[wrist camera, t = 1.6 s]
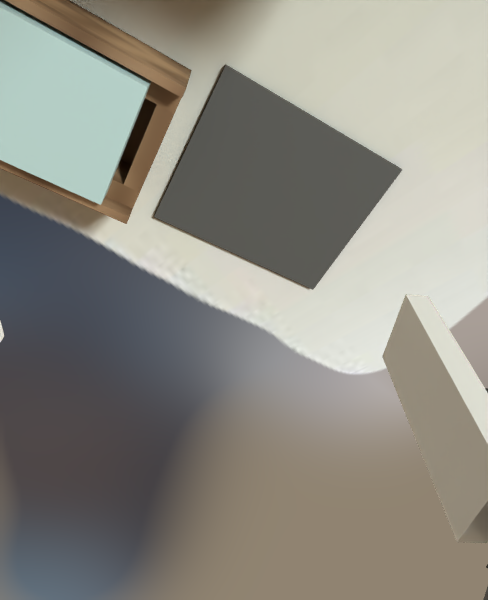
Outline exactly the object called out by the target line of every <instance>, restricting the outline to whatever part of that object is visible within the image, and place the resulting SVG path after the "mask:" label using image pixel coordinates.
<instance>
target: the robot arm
mask: <svg viewBox="0 0 488 600" xmlns="http://www.w3.org/2000/svg"><path fill="white" fill-rule="evenodd" d="M3 337H4V333H3V329H2V325H1V322H0V342H1V340H2V339H3ZM382 357H383V359H384V362H385V364H386V367H387V369H388V372H389V374H390V377H391V379H392V382H393V384H394V387H395V389H396V391H397V394H398V397H399V399H400V401H401V404H402V406H403V409H404V412H405V414H406V417H407V419H408V421H409V424H410V426H411V429H412V431H413V434H414V436H415V439H416V441H417V444H418V446H419V449H420V451H421V454H422V456H423V459H424V461H425V464H426V466H427V469H428V471H429V474H430V476H431V479H432V481H433V484H434V486H435V489H436V491H437V494H438V496H439V499H440V501H441V504H442V506H443V509H444V511H445V514H446V516H447V519H448V521H449V523H450V526H451V529H452V531H453V534H454V536H455V539H456V541H457V542H470V543H487V541H488V389H487V388H484V386H483V385H482V383H481V381H480V380H479V378H478V376H477V375H476V373H475V371H474V370H473V368H472V366H471V365H470V363H469V362H468V360H467V358H466V357H465V355H464V353H463V352H462V350H461V348H460V347H459V345H458V344H457V342H456V340H455V339H454V337H453V335H452V334H451V332H450V330H449V329H448V327H447V326H446V324H445V322H444V321H443V319H442V317H441V316H440V314H439V312H438V311H437V309H436V308H435V306H434V304H433V303H432V301H431V299H430V298H429V296H422V295H408V294H406V295H405V298H404V301H403V303H402V306H401V309H400V311H399V314H398V317H397V319H396V322H395V325H394V327H393V330H392V333H391V335H390V338H389V341H388V343H387V346H386V348H385V351H384V354H383V356H382ZM486 567H487V568H488V565H487V566H486ZM484 600H488V587H487V591H486V594H485V597H484Z"/></svg>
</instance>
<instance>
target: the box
mask: <svg viewBox="0 0 488 600" xmlns="http://www.w3.org/2000/svg"><path fill="white" fill-rule="evenodd" d="M5 1H7V2H9V3H11V4H12V5H14V6H16V7H18V8H20V9H22V10H23V11H25V12H27V13H29V14H31V15H32V16H34V17H36V18H38V19H40V20H41V21H43V22H45V23H47V24H49V25H51V26H52V27H54V28H56V29H58V30H60V31H61V32H63V33H65V34H67V35H69V36H71V37H72V38H74V39H76V40H78V41H80V42H81V43H83V44H85V45H87V46H89V47H90V48H92V49H94V50H96V51H98V52H100V53H101V54H103V55H105V56H107V57H109V58H110V59H112V60H114V61H116V62H118V63H120V64H121V65H123V66H125V67H127V68H129V69H130V70H132V71H134V72H136V73H138V74H139V75H141V76H143V77H145V78H147V79H149V80H150V81H152V82H151V84H150V87H149V89H148V92H147V94H146V97H145V99H144V102H143V104H142V107H141V109H140V112H139V114H138V117H137V119H136V122H135V124H134V127H133V129H132V132H131V134H130V137H129V139H128V142H127V144H126V147H125V149H124V152H123V154H122V157H121V159H120V162H119V164H118V167H117V169H116V172H115V174H114V177H113V179H112V182H111V184H110V187H109V189H108V192H107V194H106V196H105V198H104V200H103V202H102V204H101V205H100V204H97V203H95V202H93V201H91V200H89V199H86V198H84V197H82V196H80V195H77V194H75V193H73V192H71V191H68V190H66V189H64V188H62V187H60V186H57V185H55V184H53V183H51V182H48V181H46V180H44V179H42V178H39V177H37V176H35V175H33V174H31V173H28V172H26V171H24V170H22V169H19V168H17V167H15V166H13V165H10V164H8V163H6V162H4V161H2V160H0V168H1V169H3V170H5V171H8V172H10V173H12V174H14V175H17V176H19V177H21V178H24V179H26V180H28V181H30V182H33V183H35V184H37V185H39V186H42V187H44V188H46V189H48V190H51V191H53V192H55V193H57V194H60V195H62V196H64V197H66V198H69V199H71V200H73V201H75V202H78V203H80V204H82V205H84V206H87V207H89V208H91V209H94V210H96V211H98V212H100V213H103V214H105V215H107V216H109V217H112V218H114V219H116V220H118V221H121V222H123V223H125V224H127V221H128V219H129V217H130V214H131V211H132V209H133V206H134V204H135V202H136V200H137V197H138V195H139V193H140V190H141V188H142V186H143V184H144V181H145V179H146V177H147V175H148V172H149V170H150V168H151V165H152V163H153V161H154V159H155V156H156V154H157V152H158V150H159V147H160V145H161V143H162V140H163V138H164V136H165V134H166V131H167V129H168V127H169V125H170V122H171V120H172V118H173V115H174V113H175V111H176V109H177V106H178V104H179V102H180V100H181V98H182V96H183V94H184V92H185V90H186V87H187V84H188V80H189V77H190V73H191V70H190V69H188V68H186V67H185V66H183V65H181V64H179V63H178V62H176V61H174V60H172V59H171V58H169V57H167V56H165V55H164V54H162V53H160V52H159V51H157V50H155V49H153V48H152V47H150V46H148V45H146V44H145V43H143V42H141V41H139V40H138V39H136V38H134V37H132V36H131V35H129V34H127V33H125V32H124V31H122V30H120V29H119V28H117V27H115V26H113V25H112V24H110V23H108V22H106V21H105V20H103V19H101V18H99V17H98V16H96V15H94V14H92V13H91V12H89V11H87V10H85V9H84V8H82V7H80V6H79V5H77V4H75V3H73V2H72V1H70V0H5Z"/></svg>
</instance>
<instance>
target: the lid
mask: <svg viewBox="0 0 488 600" xmlns="http://www.w3.org/2000/svg"><path fill="white" fill-rule="evenodd" d="M151 82H152V81H150V80H149V79H147V78H145V77H143V76H141V75H139V74H138V73H136V72H134V71H132V70H130V69H129V68H127V67H125V66H123V65H121V64H120V63H118V62H116V61H114V60H112V59H110V58H109V57H107V56H105V55H103V54H101V53H100V52H98V51H96V50H94V49H92V48H90V47H89V46H87V45H85V44H83V43H81V42H80V41H78V40H76V39H74V38H72V37H71V36H69V35H67V34H65V33H63V32H61V31H60V30H58V29H56V28H54V27H52V26H51V25H49V24H47V23H45V22H43V21H41V20H40V19H38V18H36V17H34V16H32V15H31V14H29V13H27V12H25V11H23V10H22V9H20V8H18V7H16V6H14V5H12V4H11V3H9V2H7V1H5V0H0V160H2V161H4V162H6V163H8V164H10V165H13V166H15V167H17V168H19V169H22V170H24V171H26V172H28V173H31V174H33V175H35V176H37V177H39V178H42V179H44V180H46V181H48V182H51V183H53V184H55V185H57V186H60V187H62V188H64V189H66V190H68V191H71V192H73V193H75V194H77V195H80V196H82V197H84V198H86V199H89V200H91V201H93V202H95V203H97V204H100V205H101V204H102V202H103V200H104V198H105V196H106V194H107V192H108V189H109V187H110V184H111V182H112V179H113V177H114V174H115V172H116V169H117V167H118V164H119V162H120V159H121V157H122V154H123V152H124V149H125V147H126V144H127V142H128V139H129V137H130V134H131V132H132V129H133V127H134V124H135V122H136V119H137V117H138V114H139V112H140V109H141V107H142V104H143V102H144V99H145V97H146V94H147V92H148V89H149V87H150V84H151Z"/></svg>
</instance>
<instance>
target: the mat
mask: <svg viewBox="0 0 488 600" xmlns="http://www.w3.org/2000/svg"><path fill="white" fill-rule="evenodd" d="M401 171H402V169H401V168H399V167H398V166H396V165H394V164H392V163H391V162H389V161H387V160H386V159H384V158H382V157H381V156H379V155H377V154H376V153H374V152H372V151H371V150H369V149H367V148H366V147H364V146H362V145H360V144H359V143H357V142H355V141H354V140H352V139H350V138H349V137H347V136H345V135H344V134H342V133H340V132H339V131H337V130H335V129H334V128H332V127H330V126H328V125H327V124H325V123H323V122H322V121H320V120H318V119H317V118H315V117H313V116H312V115H310V114H308V113H307V112H305V111H303V110H302V109H300V108H298V107H296V106H295V105H293V104H291V103H290V102H288V101H286V100H285V99H283V98H281V97H280V96H278V95H276V94H275V93H273V92H271V91H270V90H268V89H266V88H264V87H263V86H261V85H259V84H258V83H256V82H254V81H253V80H251V79H249V78H248V77H246V76H244V75H243V74H241V73H239V72H238V71H236V70H234V69H233V68H231V67H229V66H227V65H225V67H224V69H223V71H222V73H221V75H220V78H219V80H218V82H217V84H216V86H215V88H214V90H213V92H212V95H211V97H210V99H209V101H208V103H207V105H206V107H205V109H204V111H203V114H202V116H201V118H200V120H199V122H198V124H197V126H196V128H195V131H194V133H193V135H192V137H191V139H190V141H189V143H188V145H187V148H186V150H185V152H184V154H183V156H182V158H181V160H180V162H179V164H178V167H177V169H176V171H175V173H174V175H173V177H172V179H171V181H170V184H169V186H168V188H167V190H166V192H165V194H164V196H163V198H162V201H161V203H160V205H159V207H158V209H157V211H156V213H155V216H154V217H155V218H157V219H160V220H162V221H164V222H166V223H168V224H170V225H173V226H175V227H177V228H179V229H181V230H184V231H186V232H188V233H190V234H192V235H195V236H197V237H199V238H201V239H203V240H206V241H208V242H210V243H212V244H214V245H216V246H219V247H221V248H223V249H225V250H227V251H230V252H232V253H234V254H236V255H238V256H241V257H243V258H245V259H247V260H249V261H252V262H254V263H256V264H258V265H260V266H262V267H265V268H267V269H269V270H271V271H273V272H276V273H278V274H280V275H282V276H284V277H287V278H289V279H291V280H293V281H295V282H298V283H300V284H302V285H304V286H306V287H308V288H311V289H314V288H315V286H316V285H317V284H318V282H319V281H320V280H321V278H322V277H323V276H324V274H325V273H326V271H327V270H328V269H329V267H330V266H331V265H332V263H333V262H334V261H335V259H336V258H337V257H338V255H339V254H340V253H341V251H342V250H343V249H344V247H345V246H346V245H347V243H348V242H349V241H350V239H351V238H352V237H353V235H354V234H355V233H356V231H357V230H358V229H359V227H360V226H361V225H362V223H363V222H364V220H365V219H366V218H367V216H368V215H369V214H370V212H371V211H372V210H373V208H374V207H375V206H376V204H377V203H378V202H379V200H380V199H381V198H382V196H383V195H384V194H385V192H386V191H387V190H388V188H389V187H390V186H391V184H392V183H393V182H394V180H395V179H396V178H397V176H398V175H399V174H400V172H401Z"/></svg>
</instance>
